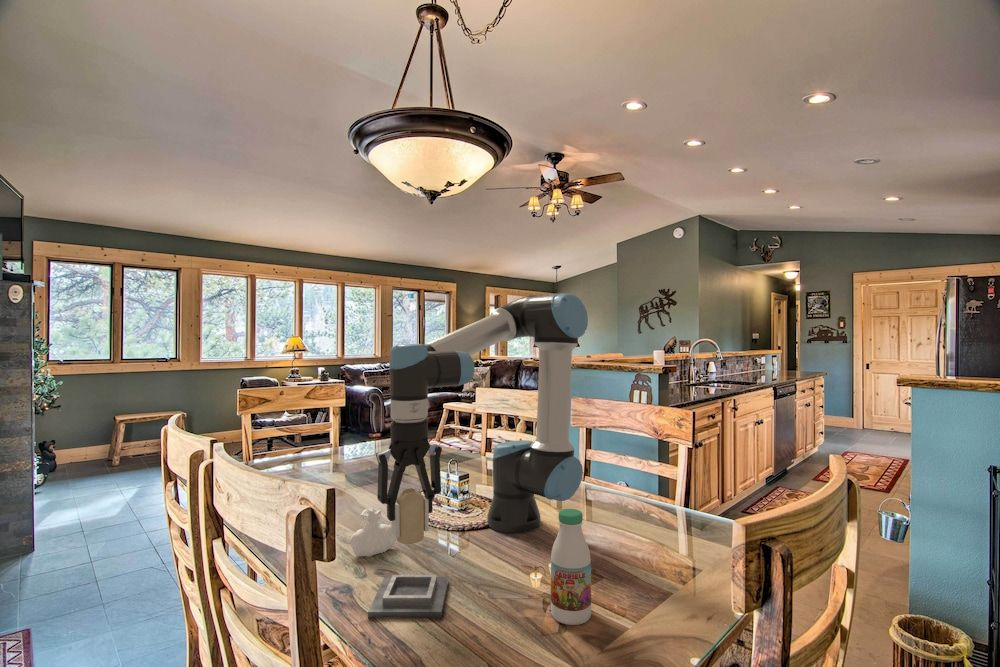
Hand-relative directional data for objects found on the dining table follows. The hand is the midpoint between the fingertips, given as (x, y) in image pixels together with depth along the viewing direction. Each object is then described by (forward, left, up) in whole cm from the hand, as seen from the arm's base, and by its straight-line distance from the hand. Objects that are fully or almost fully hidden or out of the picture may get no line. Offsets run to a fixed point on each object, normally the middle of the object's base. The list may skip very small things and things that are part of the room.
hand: (410, 531), depth 106 cm
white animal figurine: (+14, -23, -14) cm, 30 cm away
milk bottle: (-32, +6, -14) cm, 36 cm away
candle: (0, 0, -2) cm, 2 cm away
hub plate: (0, 0, -14) cm, 14 cm away
